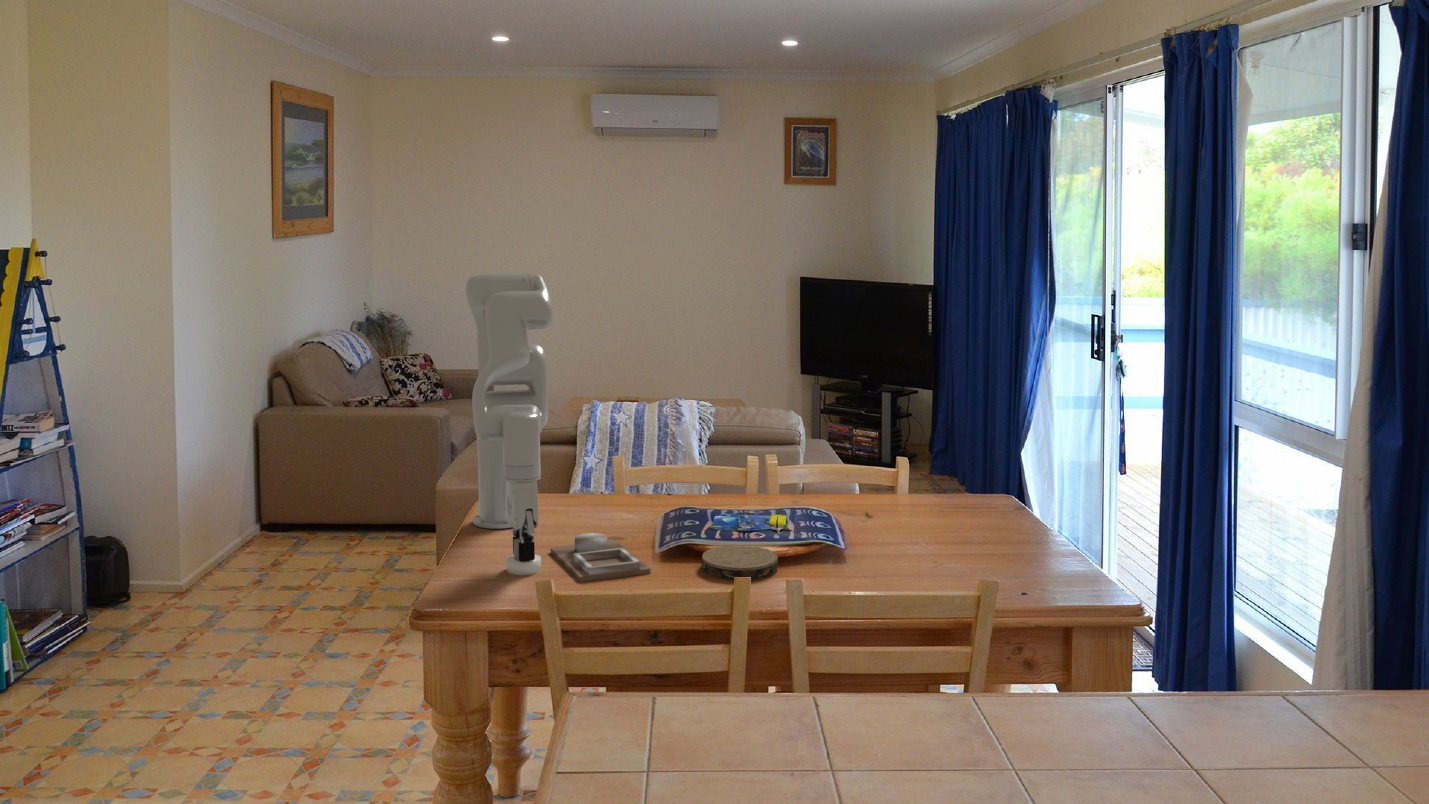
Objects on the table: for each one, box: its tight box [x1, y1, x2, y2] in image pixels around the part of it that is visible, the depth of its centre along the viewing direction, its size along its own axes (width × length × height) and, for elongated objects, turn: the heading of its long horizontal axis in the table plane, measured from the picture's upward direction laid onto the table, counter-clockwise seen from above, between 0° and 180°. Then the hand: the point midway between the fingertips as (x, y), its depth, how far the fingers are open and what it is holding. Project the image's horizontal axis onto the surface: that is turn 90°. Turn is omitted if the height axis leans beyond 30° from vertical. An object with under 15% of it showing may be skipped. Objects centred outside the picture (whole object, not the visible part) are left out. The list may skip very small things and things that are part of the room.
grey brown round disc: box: [701, 545, 779, 581], centre depth 252 cm, size 16×16×3 cm
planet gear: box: [506, 538, 542, 576], centre depth 250 cm, size 7×7×6 cm
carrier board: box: [550, 532, 651, 583], centre depth 255 cm, size 22×15×4 cm
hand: (523, 556), depth 250 cm, fingers closed on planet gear, 4 cm apart
